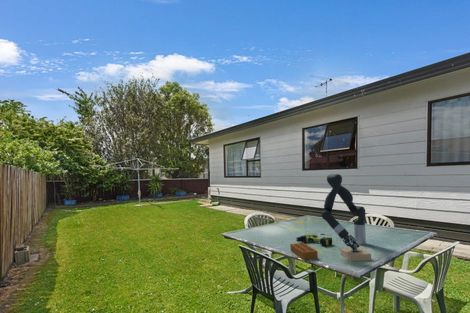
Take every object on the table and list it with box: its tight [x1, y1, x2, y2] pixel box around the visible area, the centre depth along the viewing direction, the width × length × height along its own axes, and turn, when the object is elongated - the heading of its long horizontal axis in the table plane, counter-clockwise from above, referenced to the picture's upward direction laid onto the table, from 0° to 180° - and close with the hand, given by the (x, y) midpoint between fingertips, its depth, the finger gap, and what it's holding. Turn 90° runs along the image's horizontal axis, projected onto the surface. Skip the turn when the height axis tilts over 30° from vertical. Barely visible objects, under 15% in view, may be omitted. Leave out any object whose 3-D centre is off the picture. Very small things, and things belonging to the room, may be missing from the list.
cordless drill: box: [295, 233, 333, 247], centre depth 251 cm, size 7×25×25 cm
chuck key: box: [351, 243, 358, 252], centre depth 211 cm, size 4×4×10 cm
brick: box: [289, 242, 319, 261], centre depth 222 cm, size 25×12×6 cm, turn 11°
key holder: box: [340, 247, 372, 262], centre depth 210 cm, size 16×16×4 cm
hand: (356, 248), depth 210 cm, fingers open, 8 cm apart
